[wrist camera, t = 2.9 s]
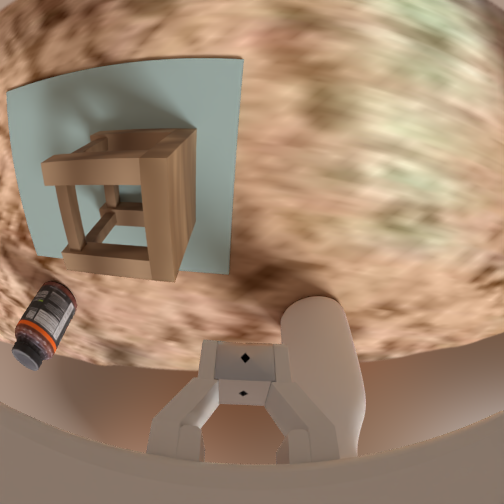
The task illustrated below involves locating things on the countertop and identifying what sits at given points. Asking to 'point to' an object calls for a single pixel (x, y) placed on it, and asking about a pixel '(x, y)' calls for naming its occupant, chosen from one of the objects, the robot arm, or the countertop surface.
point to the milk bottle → (326, 365)
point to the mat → (131, 117)
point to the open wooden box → (129, 213)
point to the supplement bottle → (43, 325)
